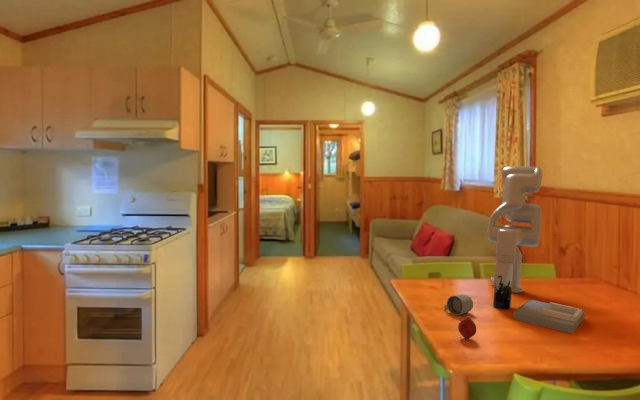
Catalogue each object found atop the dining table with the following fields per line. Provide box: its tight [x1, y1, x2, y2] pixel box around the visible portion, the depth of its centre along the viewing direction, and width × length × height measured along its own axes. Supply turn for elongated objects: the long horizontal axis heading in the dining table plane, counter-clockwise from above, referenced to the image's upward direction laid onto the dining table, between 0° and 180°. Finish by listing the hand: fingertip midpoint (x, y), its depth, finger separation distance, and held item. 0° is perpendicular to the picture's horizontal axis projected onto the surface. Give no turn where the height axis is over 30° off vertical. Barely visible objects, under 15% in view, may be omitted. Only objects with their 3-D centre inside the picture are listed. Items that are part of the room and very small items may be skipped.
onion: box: [457, 315, 477, 340], centre depth 140 cm, size 6×6×8 cm
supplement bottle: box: [492, 281, 513, 311], centre depth 175 cm, size 7×7×12 cm
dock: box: [513, 299, 585, 335], centre depth 163 cm, size 20×22×5 cm
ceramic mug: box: [443, 293, 474, 316], centre depth 167 cm, size 11×8×8 cm
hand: (502, 299), depth 175 cm, fingers closed on supplement bottle, 6 cm apart
